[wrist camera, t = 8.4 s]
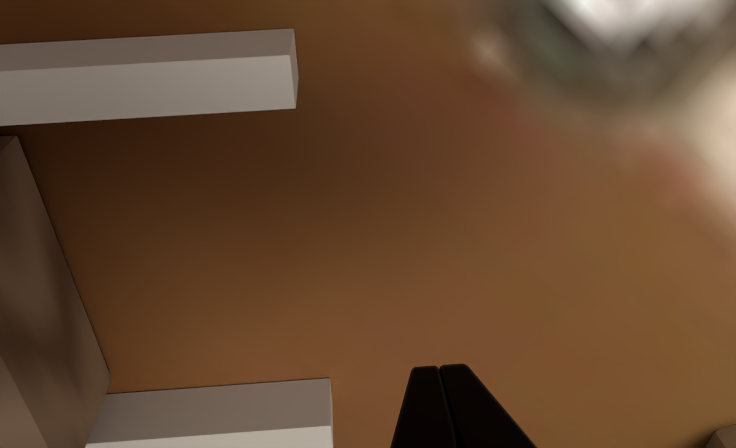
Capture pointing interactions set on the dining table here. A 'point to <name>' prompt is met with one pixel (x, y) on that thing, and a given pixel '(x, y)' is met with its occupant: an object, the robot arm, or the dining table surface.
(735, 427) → the valve
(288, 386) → the bay
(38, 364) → the carriage
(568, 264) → the dining table surface
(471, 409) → the robot arm
